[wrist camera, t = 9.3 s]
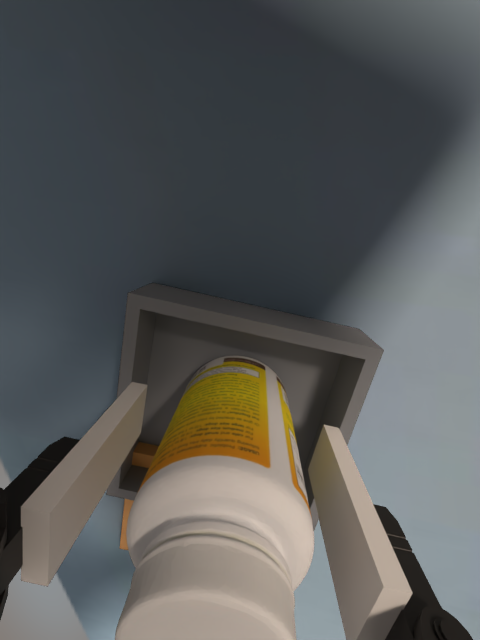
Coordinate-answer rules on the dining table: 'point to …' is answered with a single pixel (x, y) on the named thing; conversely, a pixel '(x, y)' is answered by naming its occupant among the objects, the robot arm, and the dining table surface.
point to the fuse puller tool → (143, 459)
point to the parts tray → (249, 341)
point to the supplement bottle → (221, 515)
